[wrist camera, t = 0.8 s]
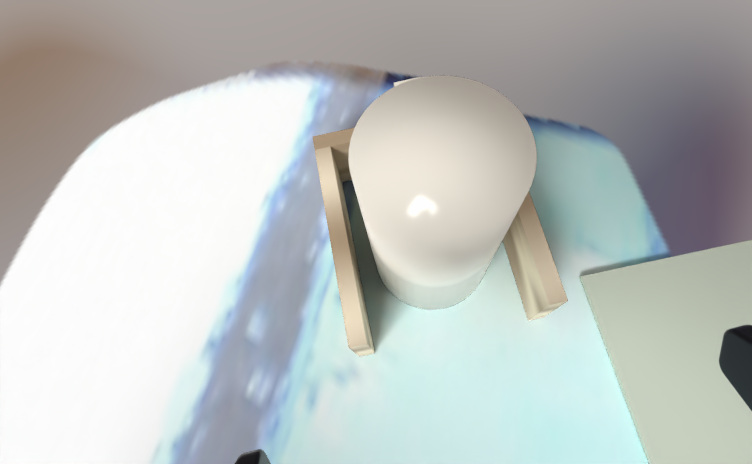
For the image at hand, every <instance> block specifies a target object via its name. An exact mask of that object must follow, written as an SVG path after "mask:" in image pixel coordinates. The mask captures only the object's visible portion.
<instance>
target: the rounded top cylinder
mask: <svg viewBox="0 0 752 464" xmlns="http://www.w3.org/2000/svg"><path fill="white" fill-rule="evenodd" d="M348 161H349V169H350V174H351V177H352V181H353V185H354V188H355V192H356V195H357V199H358V202H359V206H360V209H361V213H362V216H363V220H364V223H365V227H366V230H367V234H368V237H369V241H370V244H371V248H372V251H373V255H374V258H375V262H376V266H377V269H378V273H379V275H380V277H381V280H382V281H383V283H384V285H385V286H386V287H387V289H388V290H389V291H390V292H391V293H392V294H393V295H394V296H395V297H396V298H398V299H399V300H401V301H402V302H404V303H406V304H408V305H410V306H413V307H416V308H420V309H427V310H437V309H444V308H448V307H451V306H454V305H456V304H458V303H460V302H462V301H463V300H465V299H466V298H467V297H468V296H470V295H471V294H472V293H473V292H474V291H475V289H476V288H477V287H478V285H479V284H480V282H481V280H482V278H483V276H484V274H485V272H486V270H487V269H488V267H489V265H490V263H491V261H492V259H493V257H494V255H495V253H496V252H497V250H498V248H499V246H500V244H501V242H502V240H503V238H504V236H505V235H506V233H507V231H508V229H509V227H510V225H511V223H512V221H513V220H514V218H515V216H516V214H517V212H518V210H519V208H520V206H521V204H522V203H523V201H524V199H525V197H526V195H527V193H528V191H529V189H530V187H531V185H532V182H533V179H534V176H535V171H536V165H537V151H536V144H535V140H534V136H533V133H532V130H531V128H530V126H529V124H528V122H527V120H526V119H525V117H524V116H523V114H522V113H521V111H520V110H519V109H518V108H517V107H516V106H515V105H514V104H513V103H512V102H511V101H510V100H509V99H508V98H507V97H506V96H504V95H503V94H501V93H500V92H498V91H497V90H495V89H493V88H491V87H489V86H488V85H485V84H483V83H480V82H478V81H475V80H471V79H468V78H463V77H457V76H445V75H440V76H428V77H418V78H413V79H409V80H404V81H399V82H395V83H394V87H393V88H392V89H390V90H388V91H386V92H385V93H384V94H382V95H381V96H379V97H378V98H377V99H376V100H375V101H374V102H373V103H371V105H370V106H369V107H368V108H367V109H366V110H365V111H364V113H363V114H362V116H361V117H360V119H359V120H358V122H357V124H356V126H355V128H354V131H353V134H352V137H351V140H350V146H349V159H348Z"/></svg>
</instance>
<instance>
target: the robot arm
mask: <svg viewBox="0 0 752 464" xmlns="http://www.w3.org/2000/svg"><path fill="white" fill-rule="evenodd" d="M719 365H720V368H721V370H722V372H723V374H724V375H725V377H726V378H727V379H728V381H729V382H730V383H731V385H732V386H733V387H734V389H735V390H736V391H737V393H738V394H739V395H740V397H741V398H742V399H743V401H744V402H745V403H746V405H747V406H748V407H749V409H750V410H751V411H752V325H742V326H739V327H735V328H731V329H728V330H726V331H725V333H724V335H723V340H722V345H721V350H720V355H719ZM235 464H271V463H270V461H269V459H268V457H267V455H266V453H265V452H264V451H263V450H261V449H258V450H254V451H250V452H246V453H243V454H242V455H240V456H239V457H238V459H237V461H236V462H235Z"/></svg>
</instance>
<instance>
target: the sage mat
mask: <svg viewBox="0 0 752 464" xmlns="http://www.w3.org/2000/svg"><path fill="white" fill-rule="evenodd" d="M580 280H581V283H582V285H583V288H584V291H585V293H586V296H587V299H588V301H589V304H590V307H591V310H592V312H593V315H594V318H595V320H596V323H597V326H598V328H599V331H600V334H601V336H602V339H603V342H604V344H605V347H606V350H607V353H608V355H609V358H610V361H611V363H612V366H613V369H614V371H615V374H616V377H617V379H618V382H619V385H620V387H621V390H622V393H623V396H624V398H625V401H626V404H627V406H628V409H629V412H630V414H631V417H632V420H633V422H634V425H635V428H636V430H637V433H638V436H639V439H640V441H641V444H642V447H643V449H644V452H645V455H646V457H647V460H648V463H649V464H752V411H751V410H750V409H749V407H748V406H747V405H746V403H745V402H744V401H743V399H742V398H741V397H740V395H739V394H738V393H737V391H736V390H735V389H734V387H733V386H732V385H731V383H730V382H729V381H728V379H727V378H726V377H725V375H724V374H723V372H722V370H721V368H720V365H719V355H720V350H721V345H722V340H723V335H724V333H725V331H726V330H728V329H731V328H735V327H739V326H742V325H752V240H749V241H744V242H740V243H735V244H730V245H725V246H720V247H716V248H711V249H706V250H701V251H697V252H692V253H687V254H683V255H678V256H673V257H669V258H664V259H659V260H655V261H650V262H645V263H641V264H636V265H631V266H626V267H622V268H617V269H612V270H608V271H603V272H598V273H594V274H589V275H584V276H581V277H580Z"/></svg>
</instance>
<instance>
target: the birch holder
mask: <svg viewBox="0 0 752 464" xmlns="http://www.w3.org/2000/svg"><path fill="white" fill-rule="evenodd" d="M353 131H354V128H351V129H346V130H341V131H337V132H332V133H327V134H323V135H318V136H314V137H313V142H314V148H315V154H316V160H317V165H318V171H319V177H320V183H321V189H322V195H323V200H324V206H325V212H326V218H327V224H328V230H329V235H330V241H331V247H332V253H333V259H334V264H335V270H336V276H337V282H338V288H339V294H340V299H341V305H342V311H343V317H344V323H345V329H346V334H347V340H348V346H349V348H350V349H351V350H352V351H353V352H355V353H356V354H357V355H358V356H359V357H360V356H365V355H369V354H374V353H375V352H374V347H373V341H372V336H371V331H370V326H369V321H368V315H367V310H366V305H365V300H364V294H363V289H362V284H361V279H360V273H359V268H358V263H357V258H356V253H355V247H354V242H353V237H352V232H351V226H350V221H349V216H348V211H347V205H346V200H345V195H344V190H343V185H342V182H345V181H350V180H352V177H351V174H350V169H349V161H348V159H349V146H350V140H351V137H352V134H353ZM503 243H504V246H505V249H506V252H507V255H508V259H509V262H510V265H511V268H512V271H513V274H514V277H515V281H516V284H517V287H518V290H519V293H520V296H521V299H522V303H523V306H524V309H525V312H526V315H527V318H528V321H529V320H534V319H538V318H543V317H545V316H546V315H548V314H549V313H551V312H552V311H554V310H555V309H557V308H558V307H560V306H561V305H563V304H564V303H566V302H567V301H568V300H567V297H566V294H565V291H564V288H563V285H562V283H561V280H560V277H559V274H558V271H557V269H556V266H555V263H554V260H553V257H552V255H551V252H550V249H549V246H548V243H547V240H546V238H545V235H544V232H543V229H542V226H541V224H540V221H539V218H538V215H537V212H536V210H535V207H534V204H533V201H532V198H531V196H530V193H529V191H528V193H527V195H526V197H525V199H524V201H523V203H522V204H521V206H520V208H519V210H518V212H517V214H516V216H515V218H514V220H513V221H512V223H511V225H510V227H509V229H508V231H507V233H506V235H505V236H504V238H503Z"/></svg>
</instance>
